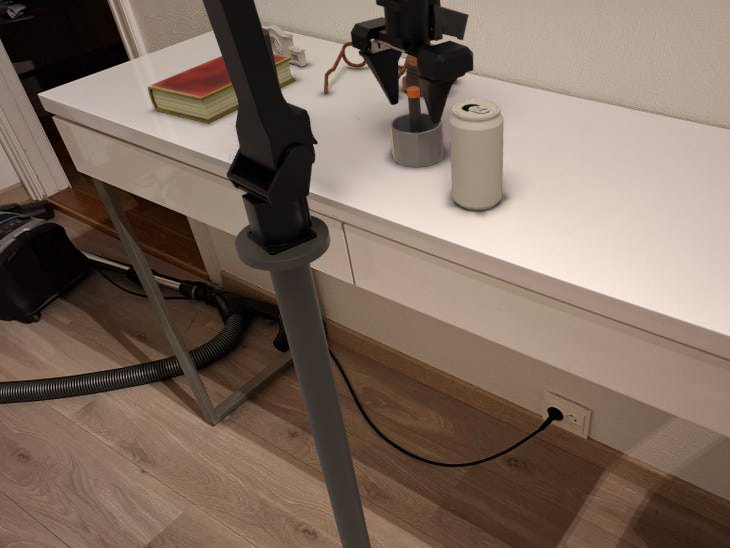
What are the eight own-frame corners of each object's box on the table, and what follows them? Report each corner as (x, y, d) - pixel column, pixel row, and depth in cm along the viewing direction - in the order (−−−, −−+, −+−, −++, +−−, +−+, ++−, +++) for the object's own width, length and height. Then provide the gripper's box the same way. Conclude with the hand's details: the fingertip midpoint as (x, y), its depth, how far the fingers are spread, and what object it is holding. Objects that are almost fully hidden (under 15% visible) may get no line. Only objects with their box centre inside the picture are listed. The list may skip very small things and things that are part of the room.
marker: (417, 156, 95) (412, 91, 89) (409, 152, 96) (404, 88, 90) (426, 152, 95) (422, 88, 89) (419, 148, 96) (414, 85, 90)
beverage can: (474, 184, 89) (472, 93, 81) (512, 198, 86) (514, 105, 78) (442, 202, 86) (437, 109, 78) (481, 218, 82) (480, 123, 74)
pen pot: (413, 172, 92) (411, 138, 89) (383, 155, 96) (379, 122, 93) (453, 156, 96) (452, 123, 92) (422, 140, 100) (420, 108, 96)
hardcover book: (154, 110, 110) (145, 84, 107) (244, 70, 123) (238, 46, 121) (208, 123, 105) (200, 96, 103) (295, 80, 119) (290, 55, 116)
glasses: (414, 71, 122) (412, 41, 119) (398, 97, 112) (395, 66, 109) (345, 68, 124) (341, 39, 120) (322, 94, 114) (317, 63, 111)
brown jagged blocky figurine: (389, 89, 117) (400, 39, 115) (436, 104, 122) (447, 57, 120) (420, 91, 107) (432, 37, 105) (469, 108, 113) (482, 56, 111)
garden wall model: (308, 65, 125) (302, 31, 121) (300, 68, 124) (294, 34, 120) (269, 52, 131) (262, 19, 127) (261, 55, 130) (254, 22, 126)
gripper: (506, -13, 80) (504, 117, 90) (410, -37, 91) (419, 81, 101) (434, 5, 75) (441, 141, 85) (341, -23, 85) (357, 100, 95)
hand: (414, 113), depth 92 cm, fingers open, 9 cm apart
